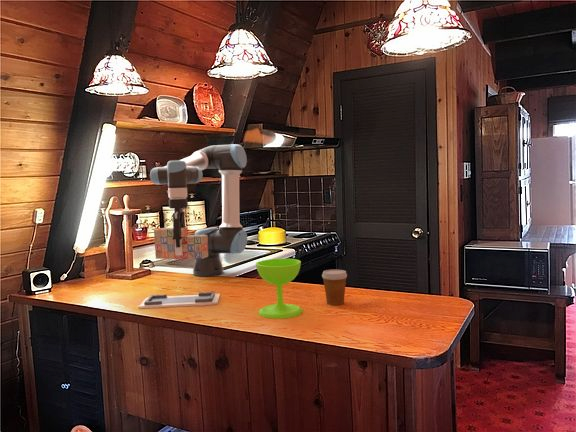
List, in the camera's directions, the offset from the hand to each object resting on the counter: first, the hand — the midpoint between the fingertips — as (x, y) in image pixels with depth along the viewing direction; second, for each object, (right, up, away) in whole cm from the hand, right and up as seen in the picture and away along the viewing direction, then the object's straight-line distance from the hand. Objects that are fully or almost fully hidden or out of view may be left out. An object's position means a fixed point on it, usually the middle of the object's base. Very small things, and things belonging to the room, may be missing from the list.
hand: (180, 253), depth 205 cm
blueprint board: (+2, -19, -7) cm, 20 cm away
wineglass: (+42, -19, -27) cm, 53 cm away
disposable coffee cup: (+62, -17, -18) cm, 67 cm away
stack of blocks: (+1, -2, 0) cm, 2 cm away
